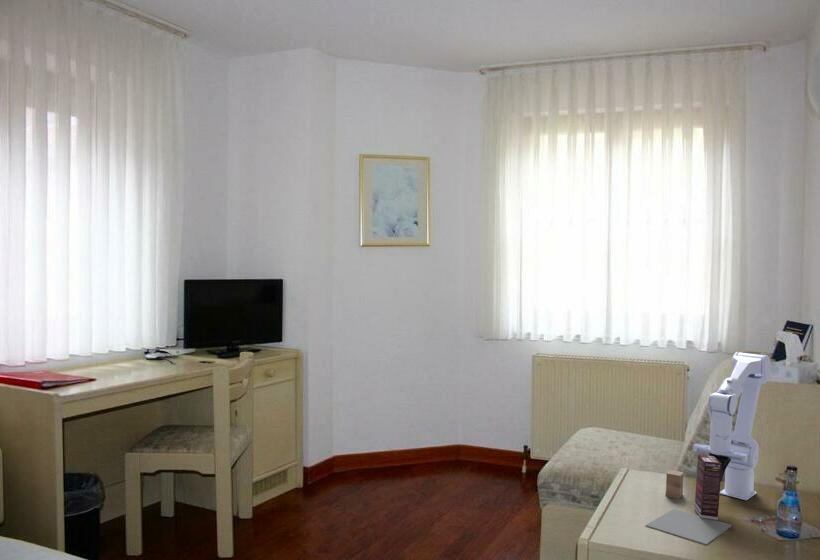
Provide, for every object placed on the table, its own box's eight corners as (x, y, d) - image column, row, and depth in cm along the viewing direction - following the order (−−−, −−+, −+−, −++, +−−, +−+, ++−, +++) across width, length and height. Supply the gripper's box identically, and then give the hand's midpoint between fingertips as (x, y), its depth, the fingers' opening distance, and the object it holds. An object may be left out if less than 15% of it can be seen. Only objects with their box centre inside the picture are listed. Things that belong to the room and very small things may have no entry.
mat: (673, 509, 196) (673, 508, 196) (731, 526, 185) (731, 525, 185) (645, 526, 183) (645, 525, 183) (706, 545, 172) (706, 543, 172)
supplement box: (718, 520, 188) (722, 463, 188) (700, 518, 189) (703, 461, 189) (711, 510, 196) (715, 455, 196) (693, 508, 197) (697, 453, 197)
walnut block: (668, 492, 211) (669, 469, 211) (682, 495, 209) (683, 472, 208) (665, 495, 207) (666, 473, 207) (679, 498, 205) (680, 475, 205)
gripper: (690, 431, 200) (688, 477, 200) (742, 442, 190) (739, 490, 190) (699, 427, 205) (697, 472, 205) (750, 438, 195) (748, 484, 195)
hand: (718, 480), depth 198 cm, fingers closed
